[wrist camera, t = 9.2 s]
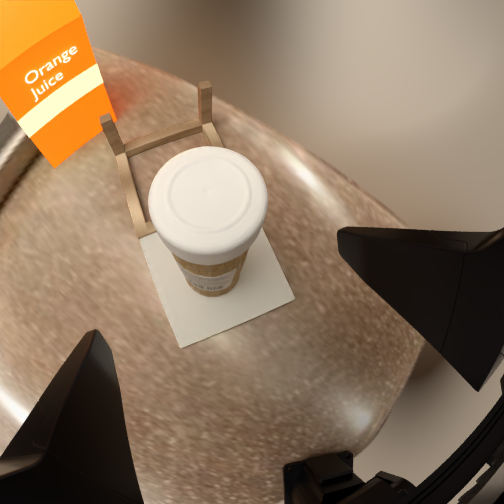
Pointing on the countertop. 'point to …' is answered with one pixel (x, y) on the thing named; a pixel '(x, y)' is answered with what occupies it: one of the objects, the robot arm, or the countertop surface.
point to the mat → (225, 306)
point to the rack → (153, 141)
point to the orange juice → (50, 75)
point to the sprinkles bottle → (208, 214)
